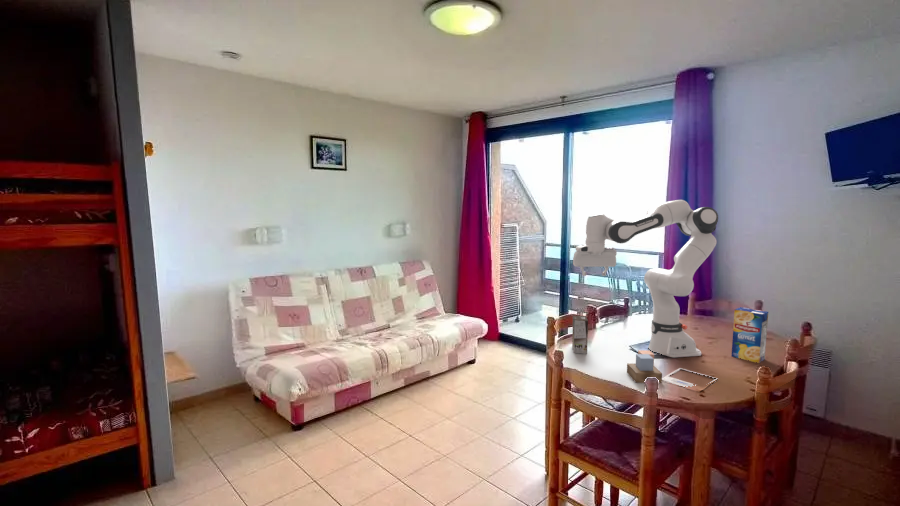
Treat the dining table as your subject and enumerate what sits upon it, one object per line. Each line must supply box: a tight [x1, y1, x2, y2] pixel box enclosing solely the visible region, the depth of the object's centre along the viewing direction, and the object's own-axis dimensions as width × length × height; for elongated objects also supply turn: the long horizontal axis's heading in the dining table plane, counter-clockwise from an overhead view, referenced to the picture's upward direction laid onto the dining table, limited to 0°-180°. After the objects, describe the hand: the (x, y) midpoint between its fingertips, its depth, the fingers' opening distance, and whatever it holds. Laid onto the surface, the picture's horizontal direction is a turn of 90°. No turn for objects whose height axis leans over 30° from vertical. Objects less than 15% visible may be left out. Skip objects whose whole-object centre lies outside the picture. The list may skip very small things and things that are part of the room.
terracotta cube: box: [637, 349, 655, 366], centre depth 190 cm, size 5×5×5 cm
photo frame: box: [662, 367, 719, 388], centre depth 172 cm, size 15×1×18 cm
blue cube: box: [635, 353, 655, 371], centre depth 174 cm, size 5×5×5 cm
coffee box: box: [571, 315, 589, 355], centre depth 206 cm, size 9×6×16 cm
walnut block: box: [626, 362, 663, 384], centre depth 174 cm, size 10×10×4 cm
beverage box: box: [731, 306, 769, 364], centre depth 193 cm, size 7×11×22 cm, turn 37°
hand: (594, 275), depth 210 cm, fingers open, 8 cm apart
